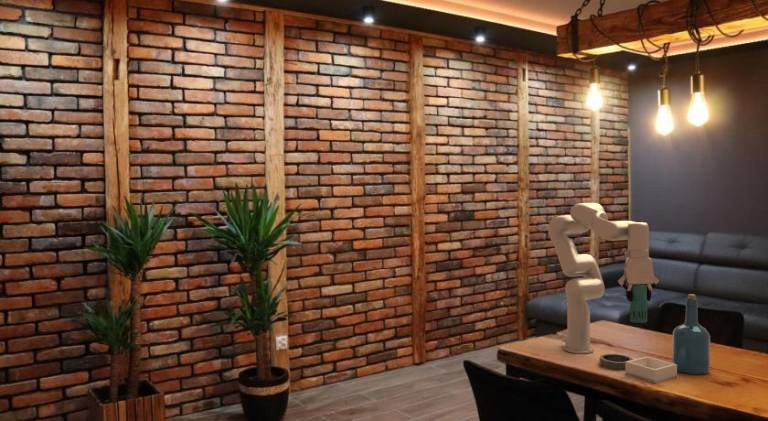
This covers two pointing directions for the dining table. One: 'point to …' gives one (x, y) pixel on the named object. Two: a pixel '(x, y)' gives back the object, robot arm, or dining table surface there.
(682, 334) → the wine bottle
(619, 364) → the holder ring
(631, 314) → the beverage bottle
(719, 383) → the dining table surface
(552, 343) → the dining table surface
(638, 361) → the bin
